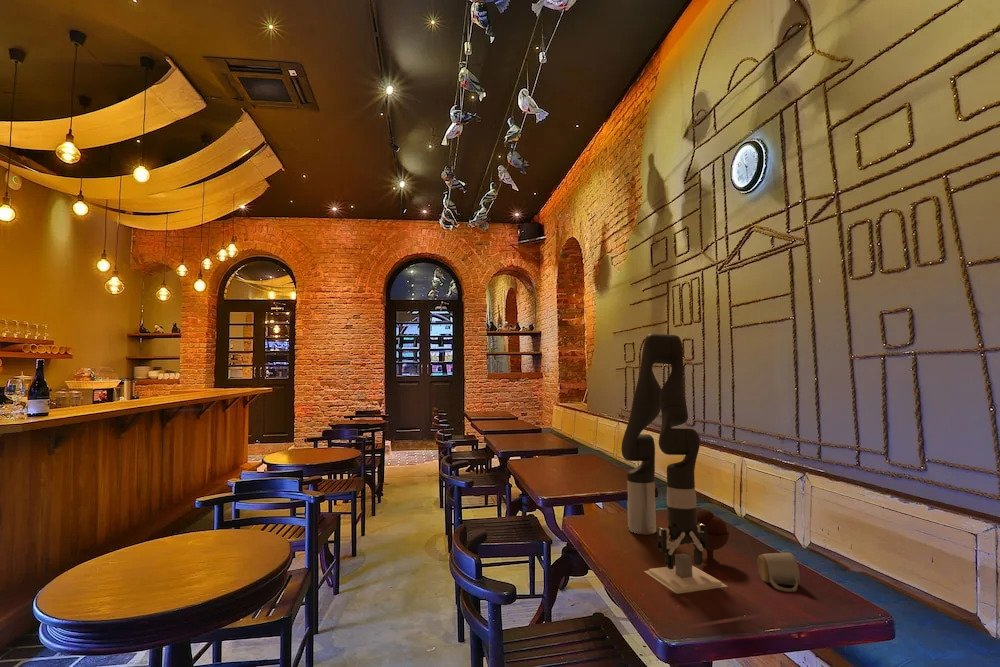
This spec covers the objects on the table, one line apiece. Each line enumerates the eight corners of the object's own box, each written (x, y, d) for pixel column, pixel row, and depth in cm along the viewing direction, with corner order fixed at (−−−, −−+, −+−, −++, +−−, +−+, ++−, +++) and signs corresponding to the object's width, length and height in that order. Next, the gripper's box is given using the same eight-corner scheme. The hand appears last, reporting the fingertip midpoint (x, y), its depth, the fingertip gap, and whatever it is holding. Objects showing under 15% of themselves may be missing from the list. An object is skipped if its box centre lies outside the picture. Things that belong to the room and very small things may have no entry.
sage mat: (643, 573, 139) (643, 571, 139) (690, 567, 143) (690, 565, 143) (676, 596, 125) (676, 593, 125) (727, 588, 129) (727, 586, 129)
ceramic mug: (756, 576, 136) (754, 547, 137) (788, 578, 135) (787, 548, 135) (772, 594, 126) (770, 562, 126) (807, 596, 125) (805, 563, 125)
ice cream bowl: (688, 567, 143) (686, 513, 144) (693, 554, 153) (691, 504, 154) (729, 574, 138) (726, 517, 139) (731, 560, 148) (729, 508, 149)
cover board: (648, 572, 138) (648, 550, 139) (689, 566, 142) (688, 545, 142) (677, 591, 126) (676, 567, 126) (721, 585, 129) (720, 561, 130)
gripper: (695, 498, 141) (697, 559, 139) (650, 502, 137) (652, 564, 136) (713, 505, 134) (716, 568, 132) (666, 509, 130) (669, 575, 128)
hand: (684, 566), depth 134 cm, fingers open, 8 cm apart
